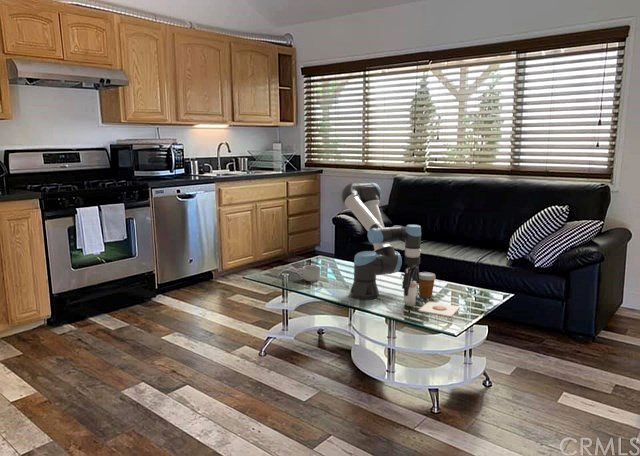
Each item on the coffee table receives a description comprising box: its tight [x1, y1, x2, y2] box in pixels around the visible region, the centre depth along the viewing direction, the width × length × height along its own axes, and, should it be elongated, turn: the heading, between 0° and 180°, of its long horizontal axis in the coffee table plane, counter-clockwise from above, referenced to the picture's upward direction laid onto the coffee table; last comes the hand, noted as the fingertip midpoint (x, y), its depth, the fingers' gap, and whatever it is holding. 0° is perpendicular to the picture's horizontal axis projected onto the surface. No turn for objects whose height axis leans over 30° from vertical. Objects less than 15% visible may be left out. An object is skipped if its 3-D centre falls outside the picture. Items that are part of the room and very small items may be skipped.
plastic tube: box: [404, 279, 417, 307], centre depth 248 cm, size 5×5×12 cm
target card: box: [418, 300, 461, 318], centre depth 241 cm, size 16×16×1 cm
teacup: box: [296, 264, 322, 283], centre depth 291 cm, size 14×11×8 cm
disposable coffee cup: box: [418, 271, 437, 298], centre depth 262 cm, size 10×10×12 cm
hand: (410, 298), depth 248 cm, fingers open, 11 cm apart
